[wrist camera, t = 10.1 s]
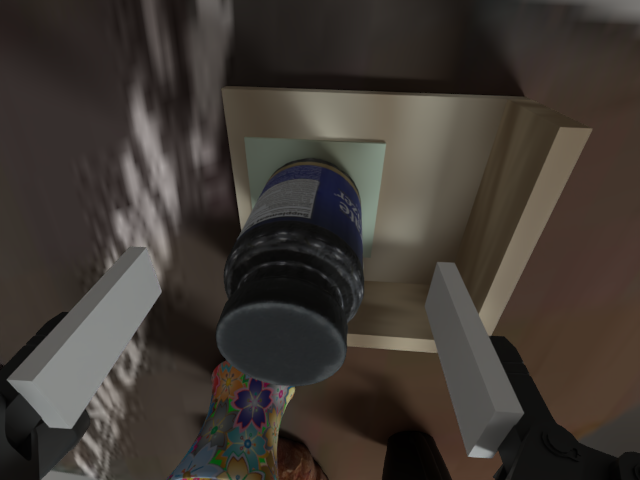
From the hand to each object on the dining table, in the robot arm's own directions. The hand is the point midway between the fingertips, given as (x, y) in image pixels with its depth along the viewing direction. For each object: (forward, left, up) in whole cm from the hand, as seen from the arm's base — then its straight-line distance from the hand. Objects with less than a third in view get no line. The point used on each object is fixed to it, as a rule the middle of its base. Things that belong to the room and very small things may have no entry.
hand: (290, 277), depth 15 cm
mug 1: (-6, -22, -8) cm, 24 cm away
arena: (+3, 0, -8) cm, 9 cm away
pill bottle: (0, 0, -7) cm, 7 cm away
